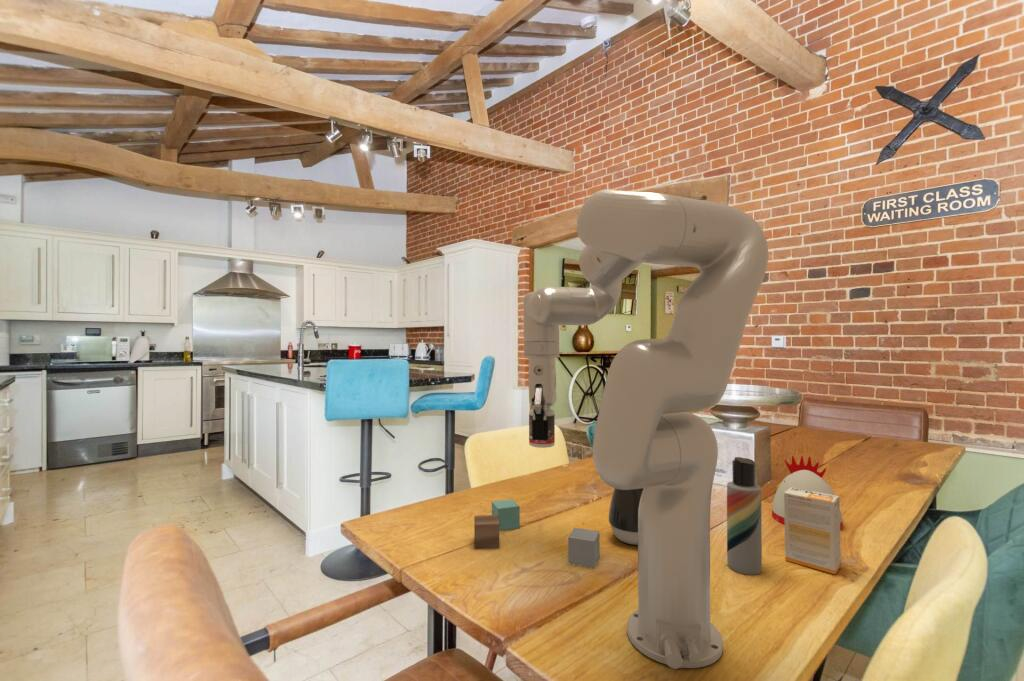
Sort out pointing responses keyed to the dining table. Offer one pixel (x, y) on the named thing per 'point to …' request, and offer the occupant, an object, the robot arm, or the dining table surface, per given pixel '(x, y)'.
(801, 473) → the kitchen timer
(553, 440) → the pill bottle
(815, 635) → the dining table surface
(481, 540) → the walnut block
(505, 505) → the teal block
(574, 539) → the slate-grey block
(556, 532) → the dining table surface
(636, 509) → the pump dispenser
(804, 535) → the supplement box
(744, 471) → the lotion bottle
